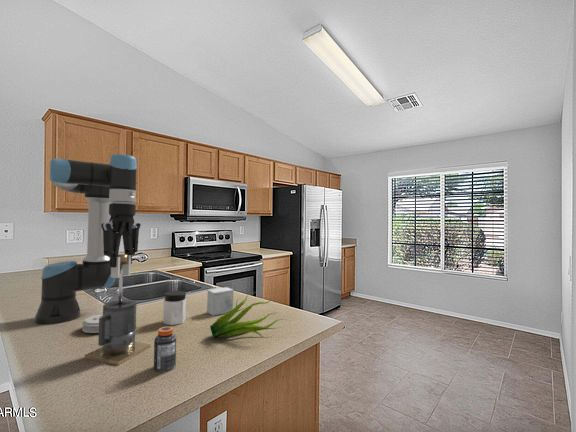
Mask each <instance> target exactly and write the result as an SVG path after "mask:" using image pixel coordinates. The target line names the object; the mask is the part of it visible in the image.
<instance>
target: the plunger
mask: <svg viewBox="0 0 576 432" xmlns="http://www.w3.org/2000/svg"><path fill="white" fill-rule="evenodd" d="M117 257H120V278H118V300H119V301H118V300H117V301H118V305H121V304H122V300H123V280H124V279H123V276H124V275H123V264H127V263H128V255H127V254H125V253H121V254H119V253H118V256H117Z"/></svg>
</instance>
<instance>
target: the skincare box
mask: <svg viewBox="0 0 576 432" xmlns="http://www.w3.org/2000/svg"><path fill="white" fill-rule="evenodd" d="M206 295H207V297H206V298H207V301H206V313H208V314H209V315H211V316H212V317H214V316H218V315H225V314H226V313H227V312H229V311H231V310H233V309H234V289H232V288H230V287H219V288H212V289H207V294H206Z"/></svg>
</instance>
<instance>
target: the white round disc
mask: <svg viewBox="0 0 576 432" xmlns="http://www.w3.org/2000/svg"><path fill="white" fill-rule="evenodd" d="M102 317H103V313H102V314H94V315H91V316H89V317H87V318H86V319H85V320H83V321H82V322H81V323H82V329H81V331H82V332H84V333H86V334H87V333H88V334H99V318H102Z"/></svg>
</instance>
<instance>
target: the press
mask: <svg viewBox="0 0 576 432" xmlns="http://www.w3.org/2000/svg"><path fill="white" fill-rule="evenodd" d="M118 301H119V299H118V300H114V301H109V302H106V303H104V304H103V305H102V314H103V317H102V318H99V333H98V343H97V344H98V346H99V347H100V348H97V349H95V350H92V351H90V352H88V353H86V354H84V359H85V360H90V361H91V360H92V361H96V362H101V363H106V364H109V365H110V364H111V365H115V366H119V365H121V364H123V363H125V362H126V361H128V360H130V359H132V358H134V357H136V356H138V355H140V354H141V353H143V352H145V351H147V350H148V349H150V348H151V344H150V343H144V342H139V341H136V329H137V301H136V300H133V299H122V304H121V305H118Z"/></svg>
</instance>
